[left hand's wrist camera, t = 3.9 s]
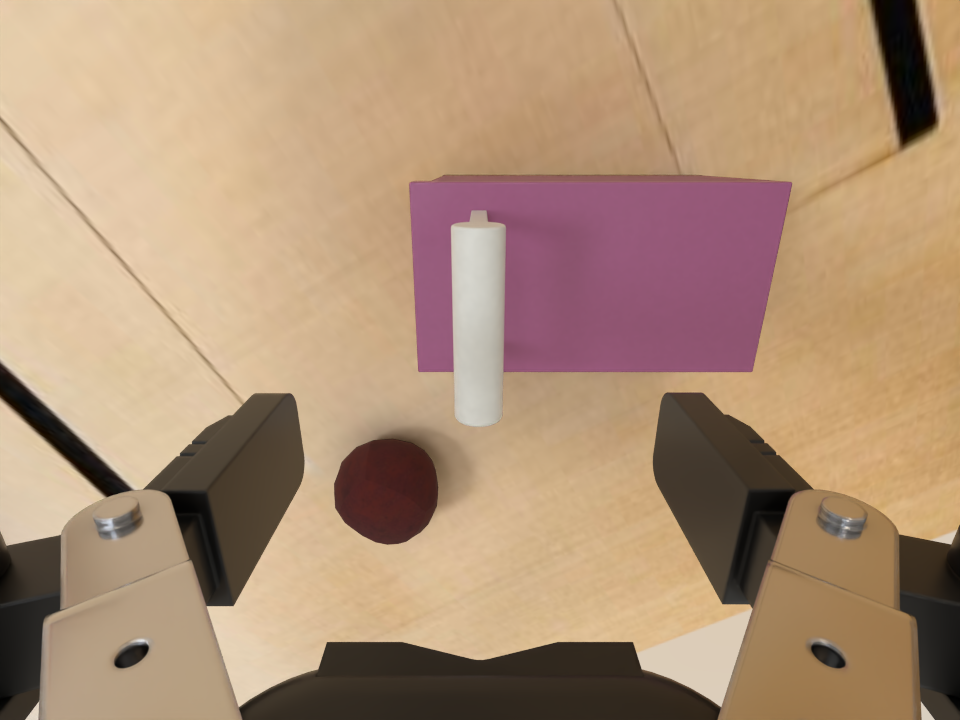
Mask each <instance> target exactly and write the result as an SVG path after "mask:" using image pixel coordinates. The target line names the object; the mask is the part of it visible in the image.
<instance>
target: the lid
mask: <svg viewBox="0 0 960 720" xmlns="http://www.w3.org/2000/svg"><path fill="white" fill-rule="evenodd" d="M791 187H792V183H791V182H783V181H413V182H410V183H409V189H410V210H411V231H412V251H413V272H414V293H415V314H416V335H417V356H418V371H419V372H454V405H455V417H456V419H457V420H458V421H459V422H460V423H462V424H464V425H467V426H473V427H484V426H490V425H493V424H495V423H497V422H499V421H500V420H501V418H502V415H503V372H752V371H753V366H754V361H755V357H756V352H757V347H758V343H759V338H760V333H761V328H762V324H763V319H764V314H765V310H766V305H767V300H768V295H769V291H770V286H771V281H772V277H773V272H774V267H775V262H776V258H777V253H778V248H779V243H780V239H781V234H782V229H783V225H784V220H785V215H786V210H787V206H788V201H789V196H790V192H791Z"/></svg>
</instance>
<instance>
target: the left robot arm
mask: <svg viewBox="0 0 960 720" xmlns="http://www.w3.org/2000/svg"><path fill="white" fill-rule="evenodd" d="M653 470H654V476H655V480H656V483H657V485H658V487H659V489H660V491H661V492H662V494H663V496H664V498H665V500H666V502H667V503H668V505H669V507H670V509H671V511H672V513H673V514H674V516H675V518H676V520H677V522H678V524H679V525H680V527H681V529H682V531H683V533H684V535H685V536H686V538H687V540H688V542H689V544H690V546H691V547H692V549H693V551H694V553H695V555H696V557H697V558H698V560H699V562H700V564H701V566H702V568H703V569H704V571H705V573H706V575H707V577H708V579H709V580H710V582H711V584H712V586H713V588H714V590H715V591H716V593H717V595H718V597H719V599H720V601H721V602H722V604H750V605H751V607H752V608H753V610H752V613H751V616H750V619H749V622H748V626H747V629H746V632H745V635H744V638H743V641H742V644H741V648H740V651H739V654H738V657H737V660H736V663H735V666H734V670H733V673H732V676H731V679H730V682H729V685H728V688H727V692H726V695H725V698H724V701H723V704H722V707H720V706H718V705H717V704H715V703H714V702H713V701H711V700H710V699H708V698H706V697H705V696H703V695H701V694H700V693H698V692H696V691H694V690H693V689H691V688H689V687H687V686H685V685H683V684H681V683H678V682H676V681H674V680H672V679H669V678H667V677H664V676H661V675H658V674H655V673H653V672H649V671H645V670H642V669H641V666H640V663H639V660H638V657H637V654H636V650H635V647H634V644H633V642H557V643H552V644H548V645H544V646H540V647H536V648H532V649H528V650H524V651H520V652H516V653H512V654H508V655H504V656H500V657H495V658H491V659H487V660H473V659H469V658H465V657H460V656H456V655H452V654H448V653H444V652H440V651H436V650H432V649H428V648H424V647H420V646H416V645H412V644H408V643H403V642H327V644H326V647H325V650H324V654H323V657H322V660H321V663H320V666H319V669H318V670H315V671H311V672H307V673H305V674H302V675H299V676H296V677H293V678H290V679H288V680H286V681H284V682H282V683H279V684H277V685H275V686H273V687H271V688H269V689H267V690H266V691H264V692H262V693H260V694H259V695H257V696H255V697H254V698H252V699H250V700H249V701H247V702H246V703H245V704H243V705H242V706H240V707H238V704H237V701H236V698H235V695H234V692H233V688H232V685H231V682H230V679H229V676H228V673H227V670H226V666H225V663H224V660H223V657H222V654H221V651H220V648H219V644H218V641H217V638H216V635H215V632H214V629H213V626H212V622H211V619H210V616H209V613H208V610H207V607H206V606H234V604H235V602H236V601H237V599H238V597H239V595H240V593H241V592H242V590H243V588H244V586H245V584H246V583H247V581H248V579H249V577H250V575H251V573H252V572H253V570H254V568H255V566H256V564H257V563H258V561H259V559H260V557H261V555H262V554H263V552H264V550H265V548H266V546H267V545H268V543H269V541H270V539H271V537H272V535H273V534H274V532H275V530H276V528H277V526H278V525H279V523H280V521H281V519H282V517H283V516H284V514H285V512H286V510H287V508H288V507H289V505H290V503H291V501H292V499H293V497H294V496H295V494H296V492H297V490H298V488H299V487H300V484H301V482H302V478H303V474H304V452H303V445H302V438H301V431H300V425H299V418H298V411H297V405H296V401H295V398H294V396H293V395H292V394H290V393H255V394H253V395H252V396H251V397H250V398H249V399H248V400H247V401H246V402H245V403H244V404H243V405H242V406H241V407H240V408H239V409H238V410H237V412H236V413H235V414H234V415H233V416H227V417H225V418H223V419H221V420H219V421H218V422H216V423H214V424H212V425H210V426H208V427H206V428H205V429H204V430H203V431H202V432H201V433H200V434H199V435H198V436H197V437H196V438H195V439H194V440H193V441H192V444H189V445H188V446H187V447H186V448H185V449H184V450H183V451H182V452H181V453H180V456H177V457H176V458H175V459H174V460H173V461H172V462H171V463H170V464H169V465H168V466H167V467H166V468H165V469H164V470H162V471H161V472H160V473H159V474H158V475H157V476H156V477H155V478H154V479H153V480H152V481H151V482H150V483H149V484H148V485H147V486H146V487H145V488H144V489H143V490H134V491H129V492H124V493H120V494H116V495H113V496H110V497H107V498H105V499H102V500H100V501H98V502H96V503H94V504H92V505H90V506H88V507H86V508H85V509H83V510H82V511H80V512H79V513H77V514H76V515H75V516H74V517H73V518H71V519H70V520H69V521H68V523H67V524H66V525H65V526H64V528H63V530H62V533H61V535H59V536H54V537H49V538H44V539H39V540H34V541H29V542H24V543H19V544H13V545H8V546H6V544H5V542H4V539H3V537H2V535H1V532H0V720H25V719H26V718H27V716H28V715H29V714H30V712H31V711H32V710H33V708H34V707H35V706H36V704H37V703H38V702H39V720H921V702H922V703H923V704H924V706H925V707H926V708H927V710H928V711H929V712H930V714H931V715H932V716H933V718H934V719H935V720H960V525H959V528H958V530H957V533H956V535H955V537H954V540H953V542H952V544H951V545H950V544H945V543H940V542H935V541H930V540H925V539H920V538H914V537H909V536H904V535H899V533H898V530H897V528H896V526H895V525H894V524H893V523H892V521H891V520H890V519H889V518H887V517H886V516H885V515H884V514H883V513H881V512H880V511H878V510H877V509H875V508H874V507H872V506H870V505H868V504H866V503H864V502H862V501H860V500H858V499H855V498H853V497H850V496H847V495H844V494H840V493H836V492H831V491H826V490H814V489H813V488H812V487H811V486H810V485H809V484H808V483H807V482H806V481H805V480H804V479H803V478H802V477H801V476H800V475H799V474H798V473H797V472H796V471H795V470H794V469H793V468H792V467H791V466H790V465H789V464H788V463H787V462H786V461H785V460H784V459H782V458H781V457H780V456H779V455H776V452H775V451H774V450H773V449H772V448H771V447H770V446H769V445H768V444H767V443H764V440H763V439H762V438H761V437H760V436H759V435H758V434H757V433H756V432H755V431H754V430H753V429H752V428H751V427H750V426H748V425H746V424H744V423H743V422H741V421H739V420H737V419H735V418H733V417H732V416H730V415H724V414H723V413H722V412H721V411H720V410H719V409H718V408H717V407H716V406H715V405H714V404H713V403H712V402H711V401H710V400H709V399H708V397H707V396H706V395H705V394H703V393H665V394H664V396H663V398H662V401H661V405H660V412H659V419H658V426H657V433H656V440H655V447H654V453H653Z"/></svg>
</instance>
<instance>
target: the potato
mask: <svg viewBox="0 0 960 720" xmlns="http://www.w3.org/2000/svg"><path fill="white" fill-rule="evenodd" d="M334 495H335V508H336V510H337V511H338V513H339V514H340V516H341V517H342V519H343V521H344V522H345V523H346V524H347V525H349V526H350V527H351V528H353V529H354V530H355V531H357V532H358V533H359V534H361V535H362V536H364V537H366V538H368V539H370V540H372V541H374V542H377V543H382V544H387V545H388V544H399V543H403V542H406V541H408V540H409V539H411V538H412V537H414V536H415V535H417V534H419V533H420V532H421V531H422V530H423V529H424V528H425V527H426V526H427V525H428V524H429V522H430V520H431V518H432V516H433V513H434V511H435V509H436V507H437V497H438V483H437V476H436V470H435V467H434V465H433V462H432V460H431V458H430V457H429V456H428V455H427V453H426V452H425V451H424V450H423V449H421V448H419V447H418V446H416V445H414V444H413V443H409V442H405V441H400V440H396V439H386V440H373V441H371V442H368V443H366V444H363V445H361V446H358V447H356V448H355V449H354V450H353V451H352V452H351V453H350V454H349V455H348V456H347V457H346V458H345V459H344V460H343V461H342V463H341V466H340V470H339V472H338V475H337V478H336V480H335V483H334Z"/></svg>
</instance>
